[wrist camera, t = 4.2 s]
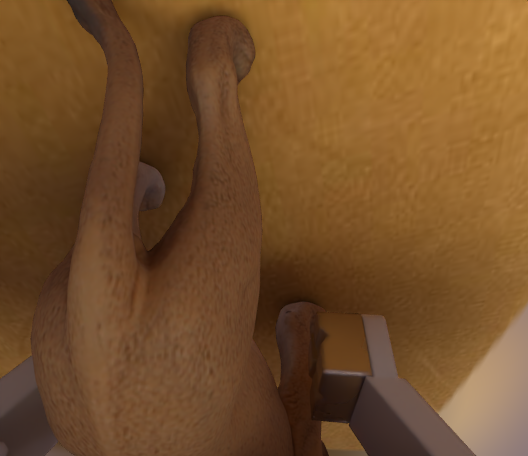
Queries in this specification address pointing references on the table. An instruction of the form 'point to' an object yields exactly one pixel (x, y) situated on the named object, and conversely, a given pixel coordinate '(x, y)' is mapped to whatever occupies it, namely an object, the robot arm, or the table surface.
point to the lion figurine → (170, 283)
